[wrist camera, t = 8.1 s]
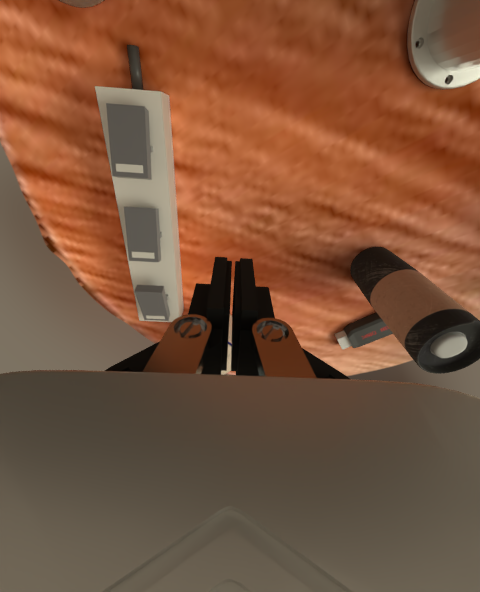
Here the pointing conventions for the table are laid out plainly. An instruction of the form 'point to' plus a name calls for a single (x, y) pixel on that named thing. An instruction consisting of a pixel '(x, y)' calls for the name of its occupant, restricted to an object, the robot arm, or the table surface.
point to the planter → (82, 3)
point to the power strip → (150, 186)
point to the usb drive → (363, 332)
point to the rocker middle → (143, 234)
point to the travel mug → (418, 312)
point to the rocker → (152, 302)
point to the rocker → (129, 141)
